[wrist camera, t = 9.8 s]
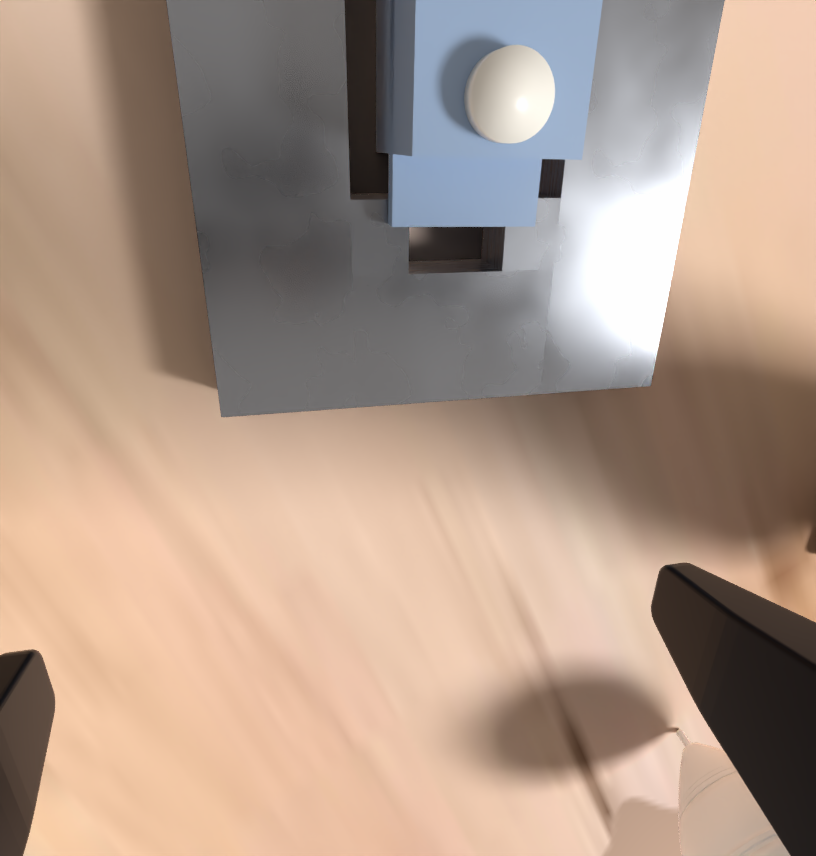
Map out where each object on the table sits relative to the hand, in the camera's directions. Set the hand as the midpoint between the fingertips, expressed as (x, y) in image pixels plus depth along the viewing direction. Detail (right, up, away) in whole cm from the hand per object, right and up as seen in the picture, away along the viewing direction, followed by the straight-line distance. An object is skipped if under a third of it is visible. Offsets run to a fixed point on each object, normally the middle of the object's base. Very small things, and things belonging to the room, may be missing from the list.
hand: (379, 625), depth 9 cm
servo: (+2, +14, +8) cm, 16 cm away
